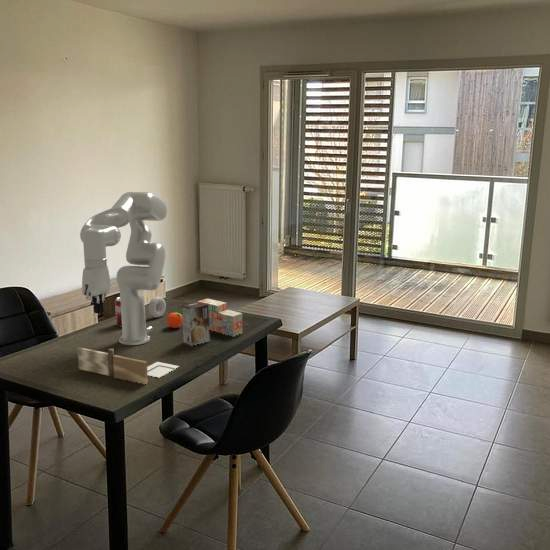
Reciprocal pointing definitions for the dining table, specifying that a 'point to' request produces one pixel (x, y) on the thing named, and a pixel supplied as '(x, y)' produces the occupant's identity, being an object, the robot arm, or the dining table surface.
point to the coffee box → (195, 323)
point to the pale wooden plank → (93, 361)
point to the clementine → (174, 320)
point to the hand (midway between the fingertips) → (98, 312)
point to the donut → (152, 307)
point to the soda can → (118, 312)
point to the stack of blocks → (223, 318)
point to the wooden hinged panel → (127, 368)
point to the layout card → (160, 369)
